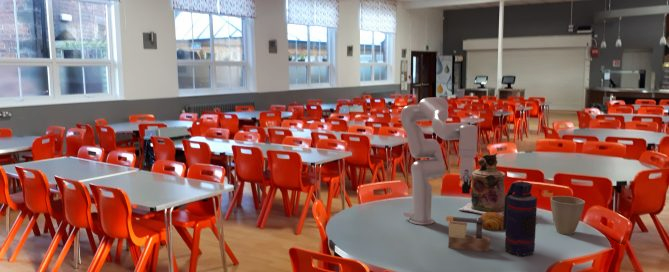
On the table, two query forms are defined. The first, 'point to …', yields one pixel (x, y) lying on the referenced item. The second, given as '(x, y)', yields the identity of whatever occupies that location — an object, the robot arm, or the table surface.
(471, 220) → the lever
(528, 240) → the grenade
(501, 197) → the cookie jar
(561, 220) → the plant pot
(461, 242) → the plane body
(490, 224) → the croissant
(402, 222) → the table surface
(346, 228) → the table surface
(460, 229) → the brushed brass block
